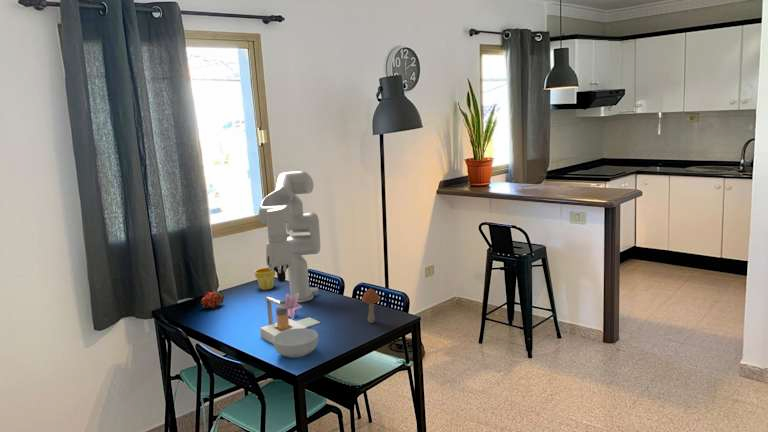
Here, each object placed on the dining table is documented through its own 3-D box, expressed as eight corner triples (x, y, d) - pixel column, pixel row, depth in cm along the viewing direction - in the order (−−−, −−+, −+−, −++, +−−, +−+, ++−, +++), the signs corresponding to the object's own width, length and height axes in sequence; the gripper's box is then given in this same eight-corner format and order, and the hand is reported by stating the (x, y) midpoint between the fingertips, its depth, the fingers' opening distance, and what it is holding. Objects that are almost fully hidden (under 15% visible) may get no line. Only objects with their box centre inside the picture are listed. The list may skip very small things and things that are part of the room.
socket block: (284, 324, 257) (281, 295, 255) (307, 336, 242) (305, 305, 239) (254, 333, 249) (251, 303, 246) (277, 346, 233) (274, 314, 231)
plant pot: (253, 291, 308) (251, 273, 306) (260, 285, 318) (259, 267, 316) (272, 290, 306) (270, 272, 304) (279, 284, 316) (277, 267, 315)
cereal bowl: (280, 367, 214) (278, 348, 213) (270, 350, 230) (268, 333, 228) (325, 356, 221) (323, 338, 220) (312, 341, 236) (310, 324, 235)
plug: (286, 333, 246) (283, 306, 244) (292, 336, 243) (289, 308, 240) (276, 336, 243) (273, 308, 241) (282, 339, 240) (279, 311, 238)
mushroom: (384, 319, 256) (382, 285, 253) (378, 326, 248) (375, 291, 245) (367, 318, 258) (364, 285, 255) (360, 324, 251) (358, 290, 248)
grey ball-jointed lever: (264, 299, 249) (263, 294, 249) (270, 297, 251) (269, 292, 251) (280, 307, 238) (280, 302, 238) (286, 305, 240) (286, 300, 239)
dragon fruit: (227, 307, 289) (203, 316, 284) (220, 294, 294) (197, 303, 288) (227, 297, 283) (202, 306, 278) (220, 284, 288) (195, 293, 282)
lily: (276, 315, 272) (270, 301, 266) (296, 300, 277) (291, 286, 271) (291, 328, 265) (285, 314, 259) (311, 313, 270) (306, 299, 264)
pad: (309, 318, 262) (309, 317, 262) (320, 323, 255) (320, 322, 255) (291, 323, 257) (291, 322, 257) (302, 329, 250) (302, 327, 250)
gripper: (289, 234, 252) (293, 276, 255) (257, 240, 243) (261, 283, 246) (298, 236, 246) (301, 279, 249) (265, 242, 237) (269, 287, 240)
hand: (281, 281), depth 247 cm, fingers closed
